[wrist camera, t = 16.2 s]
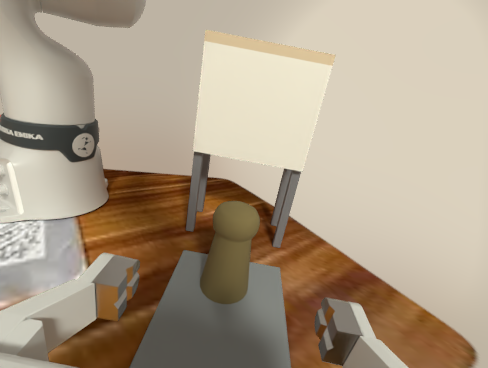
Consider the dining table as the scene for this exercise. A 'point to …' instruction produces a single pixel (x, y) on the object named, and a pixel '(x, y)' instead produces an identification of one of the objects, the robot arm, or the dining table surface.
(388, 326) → the dining table surface
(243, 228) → the olive pear shape
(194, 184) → the cabinet
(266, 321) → the mat
